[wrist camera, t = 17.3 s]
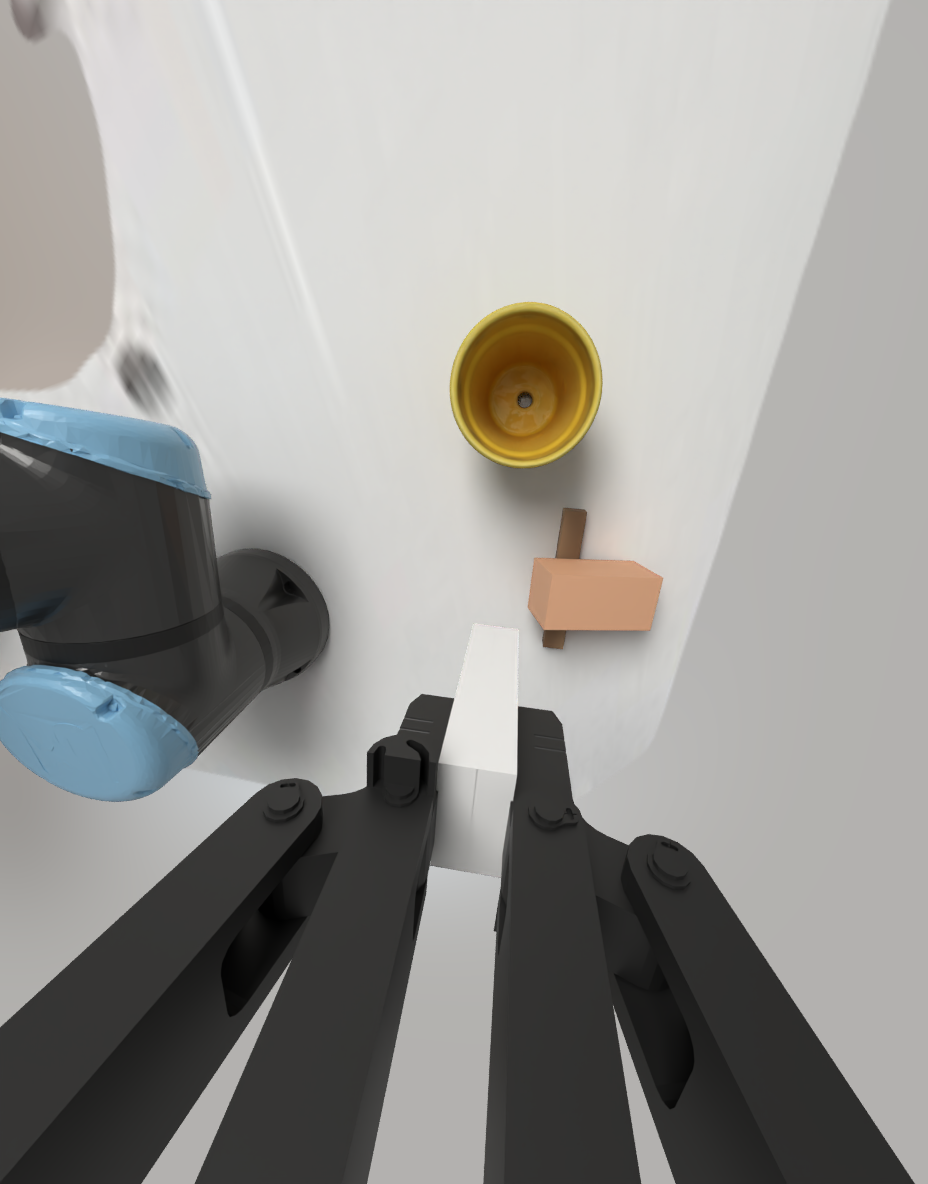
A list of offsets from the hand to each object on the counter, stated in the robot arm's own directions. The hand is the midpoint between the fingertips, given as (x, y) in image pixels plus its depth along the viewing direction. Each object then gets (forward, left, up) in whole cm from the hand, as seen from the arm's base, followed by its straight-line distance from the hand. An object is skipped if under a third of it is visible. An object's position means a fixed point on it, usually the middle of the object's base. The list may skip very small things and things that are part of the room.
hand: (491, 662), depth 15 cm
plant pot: (0, +10, -30) cm, 31 cm away
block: (+3, -6, -24) cm, 25 cm away
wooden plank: (+6, -6, -29) cm, 31 cm away
